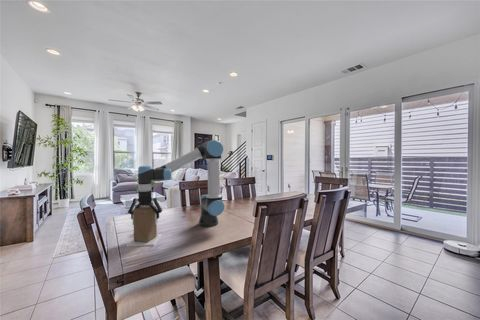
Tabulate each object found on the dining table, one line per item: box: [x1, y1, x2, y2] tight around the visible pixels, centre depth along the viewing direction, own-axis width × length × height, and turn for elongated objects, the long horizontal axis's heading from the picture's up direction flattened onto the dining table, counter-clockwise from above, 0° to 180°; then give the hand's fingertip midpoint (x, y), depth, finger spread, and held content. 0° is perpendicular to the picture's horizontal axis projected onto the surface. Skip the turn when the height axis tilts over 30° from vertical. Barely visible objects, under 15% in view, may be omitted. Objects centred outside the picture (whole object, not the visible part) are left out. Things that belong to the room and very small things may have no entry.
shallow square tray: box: [125, 233, 163, 247], centre depth 129 cm, size 16×16×1 cm
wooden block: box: [132, 205, 158, 242], centre depth 128 cm, size 10×10×20 cm
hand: (145, 224), depth 128 cm, fingers open, 13 cm apart
